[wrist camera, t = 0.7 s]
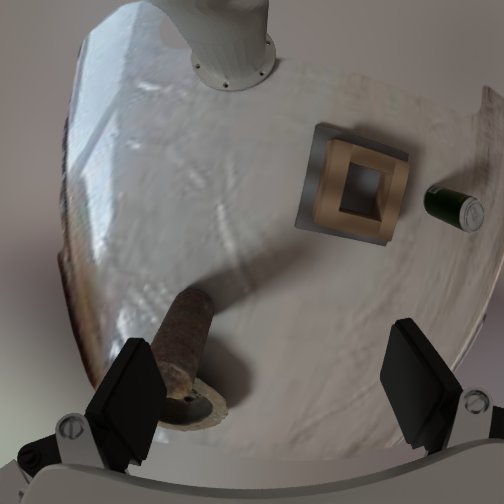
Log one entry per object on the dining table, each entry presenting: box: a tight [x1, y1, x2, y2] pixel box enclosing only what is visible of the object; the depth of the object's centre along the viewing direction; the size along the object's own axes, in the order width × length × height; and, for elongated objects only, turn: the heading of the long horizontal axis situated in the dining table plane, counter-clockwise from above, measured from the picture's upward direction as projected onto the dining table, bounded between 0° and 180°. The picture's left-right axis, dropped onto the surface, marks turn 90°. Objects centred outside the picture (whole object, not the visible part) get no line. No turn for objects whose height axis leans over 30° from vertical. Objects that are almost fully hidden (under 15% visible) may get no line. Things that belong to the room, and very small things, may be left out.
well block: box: [295, 125, 410, 246], centre depth 37 cm, size 16×16×6 cm
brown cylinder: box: [150, 290, 214, 399], centre depth 38 cm, size 8×7×20 cm
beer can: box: [423, 186, 485, 233], centre depth 34 cm, size 5×5×12 cm
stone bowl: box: [157, 376, 228, 431], centre depth 52 cm, size 25×25×9 cm
